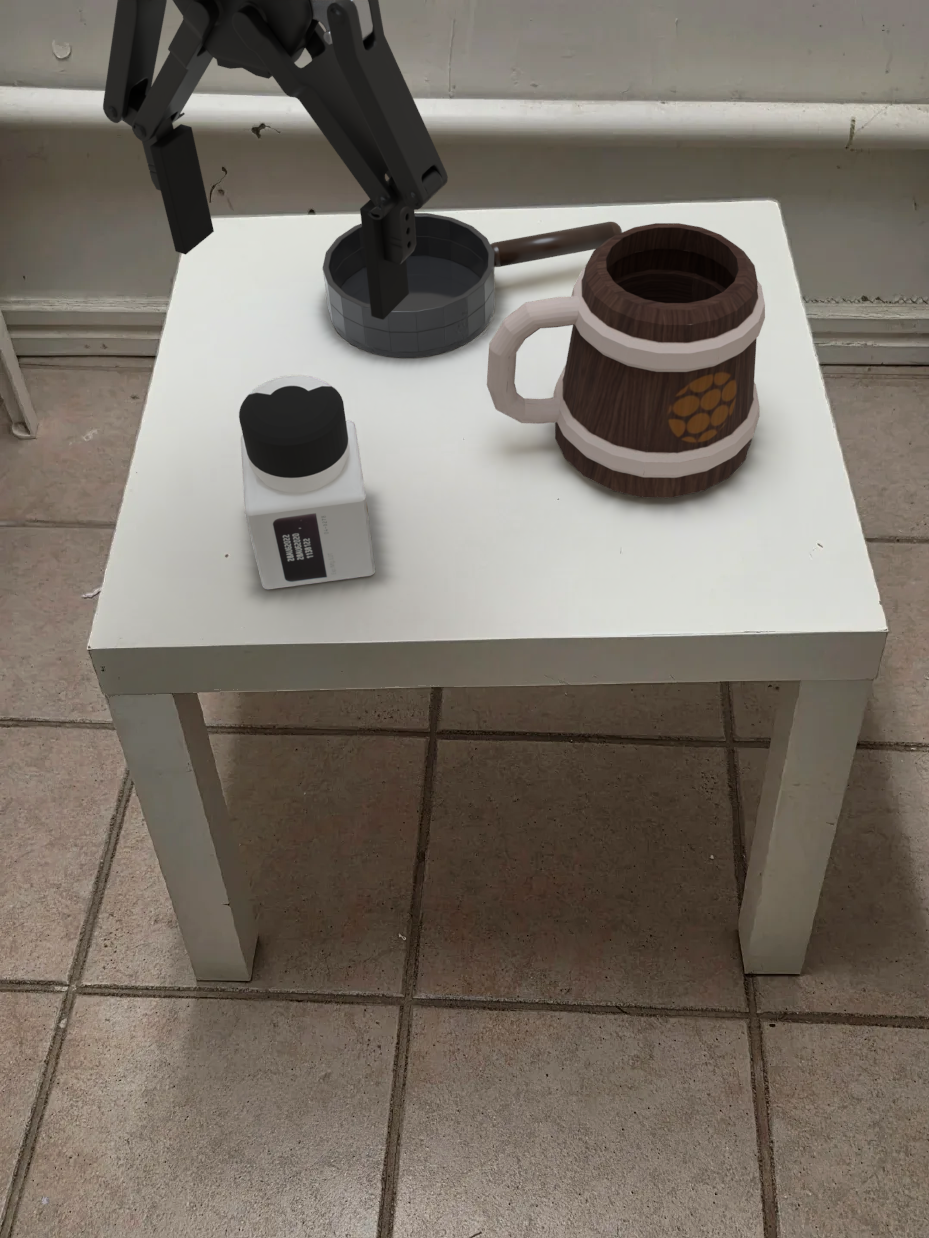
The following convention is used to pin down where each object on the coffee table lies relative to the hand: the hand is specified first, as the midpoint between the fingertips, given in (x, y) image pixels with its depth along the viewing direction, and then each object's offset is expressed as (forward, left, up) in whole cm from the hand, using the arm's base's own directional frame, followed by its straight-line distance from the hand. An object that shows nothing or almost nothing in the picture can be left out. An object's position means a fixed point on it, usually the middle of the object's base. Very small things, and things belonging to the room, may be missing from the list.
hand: (289, 272), depth 68 cm
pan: (+12, +24, -21) cm, 34 cm away
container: (-1, -1, -21) cm, 21 cm away
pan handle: (+24, +24, -19) cm, 39 cm away
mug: (+23, +3, -21) cm, 31 cm away
